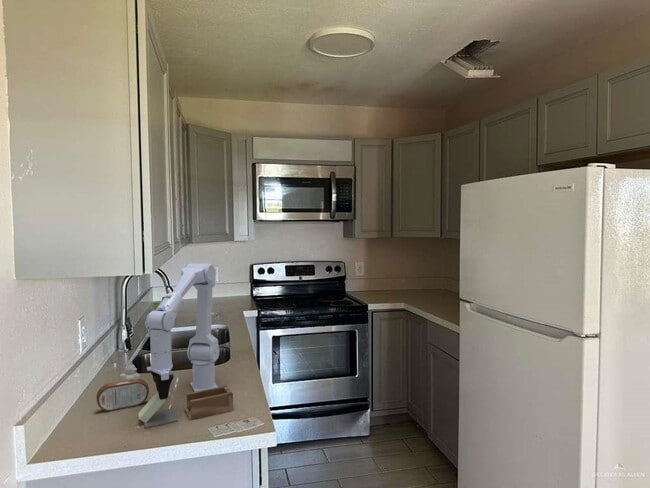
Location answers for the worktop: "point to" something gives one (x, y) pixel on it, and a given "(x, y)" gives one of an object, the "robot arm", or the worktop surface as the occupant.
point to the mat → (161, 418)
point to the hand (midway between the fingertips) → (162, 396)
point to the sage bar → (151, 407)
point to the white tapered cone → (130, 373)
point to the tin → (122, 394)
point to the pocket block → (209, 402)
